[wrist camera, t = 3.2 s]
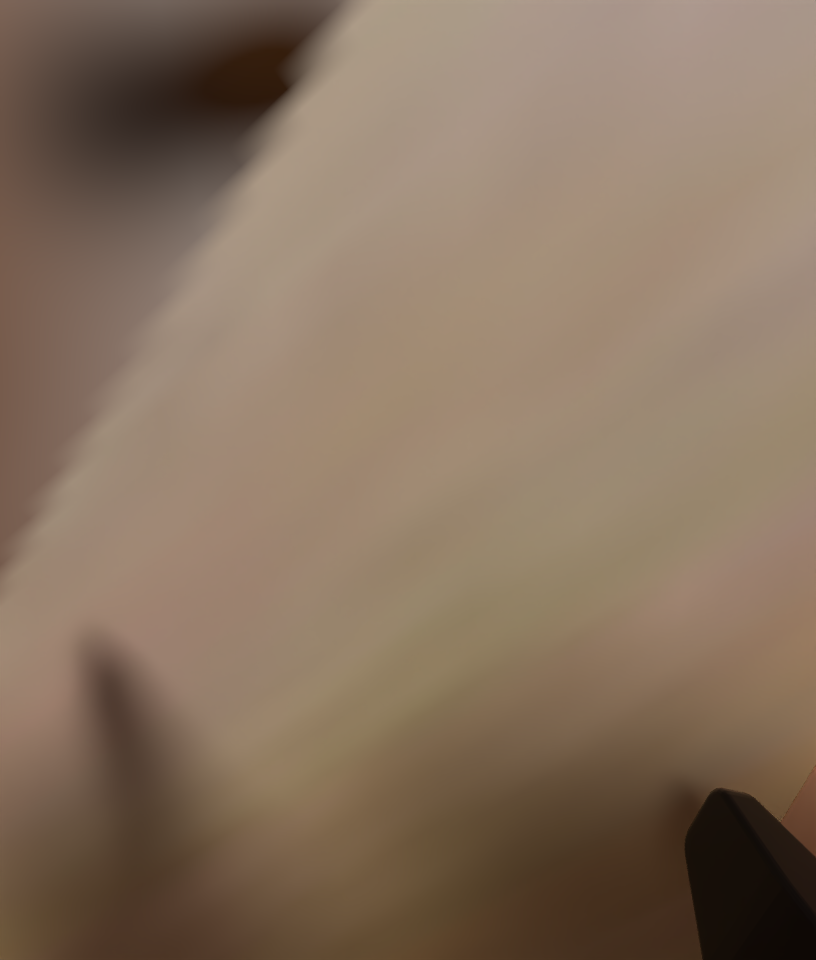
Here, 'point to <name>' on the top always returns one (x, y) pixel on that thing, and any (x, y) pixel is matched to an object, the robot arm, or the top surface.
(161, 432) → the top surface
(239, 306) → the top surface
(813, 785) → the terracotta block
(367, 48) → the top surface
